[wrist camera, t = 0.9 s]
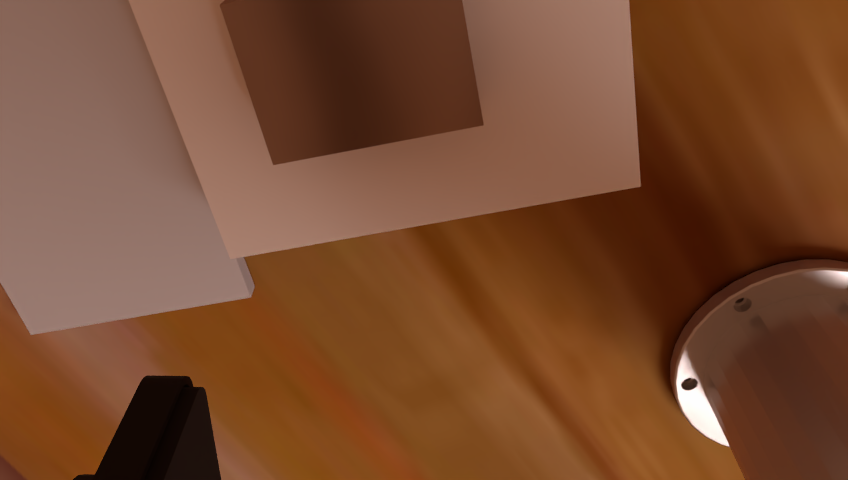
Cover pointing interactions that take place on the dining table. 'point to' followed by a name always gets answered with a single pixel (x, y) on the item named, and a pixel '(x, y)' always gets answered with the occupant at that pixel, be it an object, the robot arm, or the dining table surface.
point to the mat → (97, 175)
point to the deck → (420, 157)
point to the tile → (353, 71)
